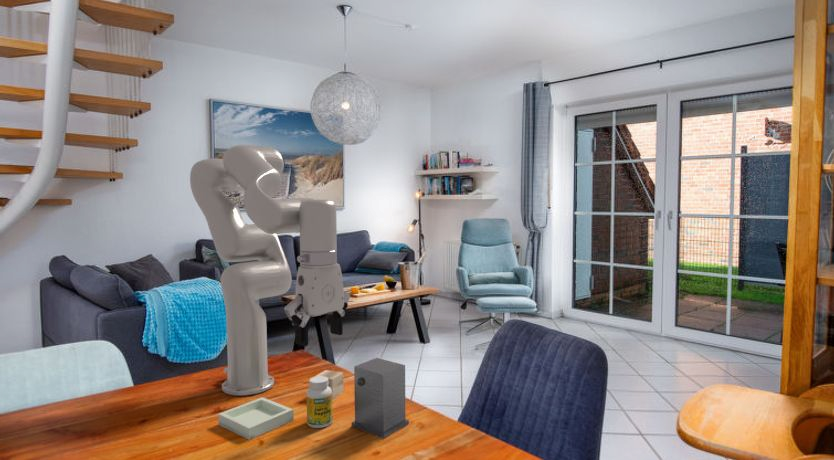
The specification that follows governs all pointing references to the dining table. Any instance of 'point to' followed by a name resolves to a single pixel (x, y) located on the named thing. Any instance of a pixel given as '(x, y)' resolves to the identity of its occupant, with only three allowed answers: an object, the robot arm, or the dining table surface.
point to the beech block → (334, 381)
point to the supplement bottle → (319, 403)
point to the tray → (255, 418)
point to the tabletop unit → (379, 397)
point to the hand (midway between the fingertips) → (319, 339)
